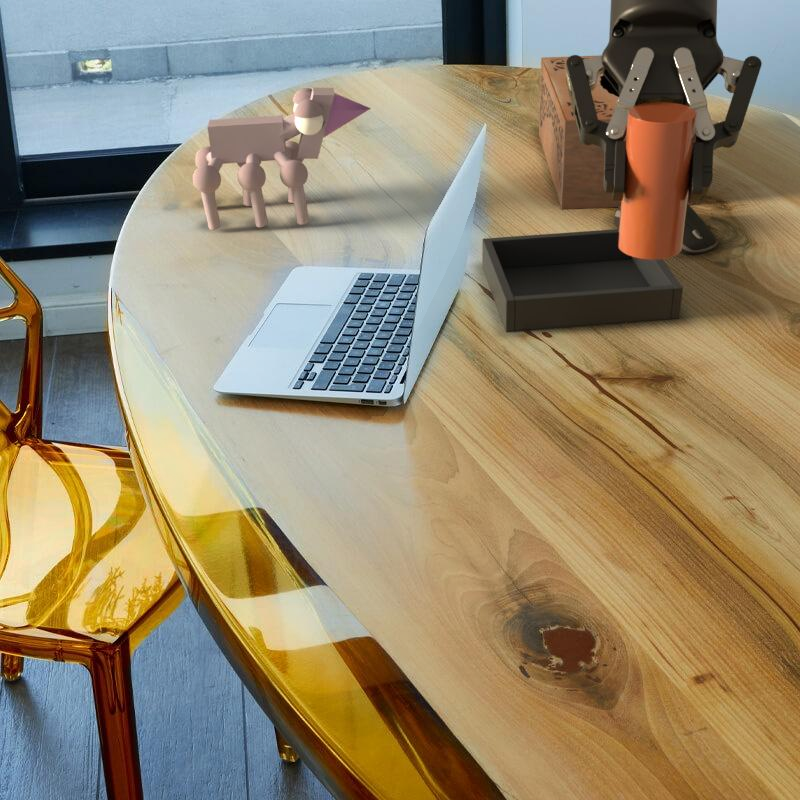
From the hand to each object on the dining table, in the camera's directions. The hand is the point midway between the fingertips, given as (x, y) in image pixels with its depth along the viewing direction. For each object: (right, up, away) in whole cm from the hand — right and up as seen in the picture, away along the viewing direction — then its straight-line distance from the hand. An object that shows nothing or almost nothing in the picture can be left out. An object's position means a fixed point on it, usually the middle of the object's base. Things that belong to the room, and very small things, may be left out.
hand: (656, 196), depth 75 cm
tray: (-1, -5, +26) cm, 27 cm away
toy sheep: (-30, +7, +47) cm, 57 cm away
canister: (0, -3, +4) cm, 5 cm away
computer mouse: (+10, +2, +37) cm, 38 cm away
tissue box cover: (+8, +14, +56) cm, 58 cm away
